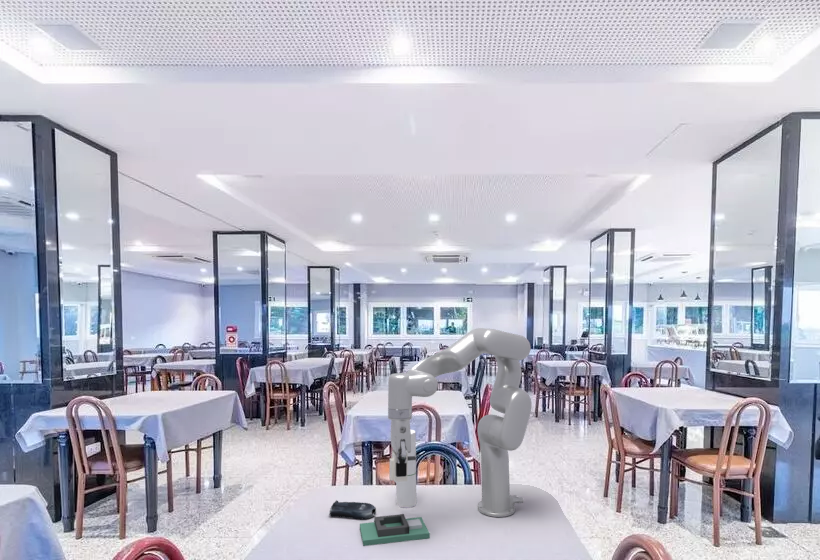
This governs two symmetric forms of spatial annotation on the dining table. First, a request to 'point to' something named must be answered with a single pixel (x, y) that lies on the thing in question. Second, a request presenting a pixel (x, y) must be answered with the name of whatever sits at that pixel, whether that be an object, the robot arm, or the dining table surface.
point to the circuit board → (393, 530)
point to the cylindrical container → (408, 480)
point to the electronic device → (352, 510)
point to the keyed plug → (393, 467)
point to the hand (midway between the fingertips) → (399, 472)
